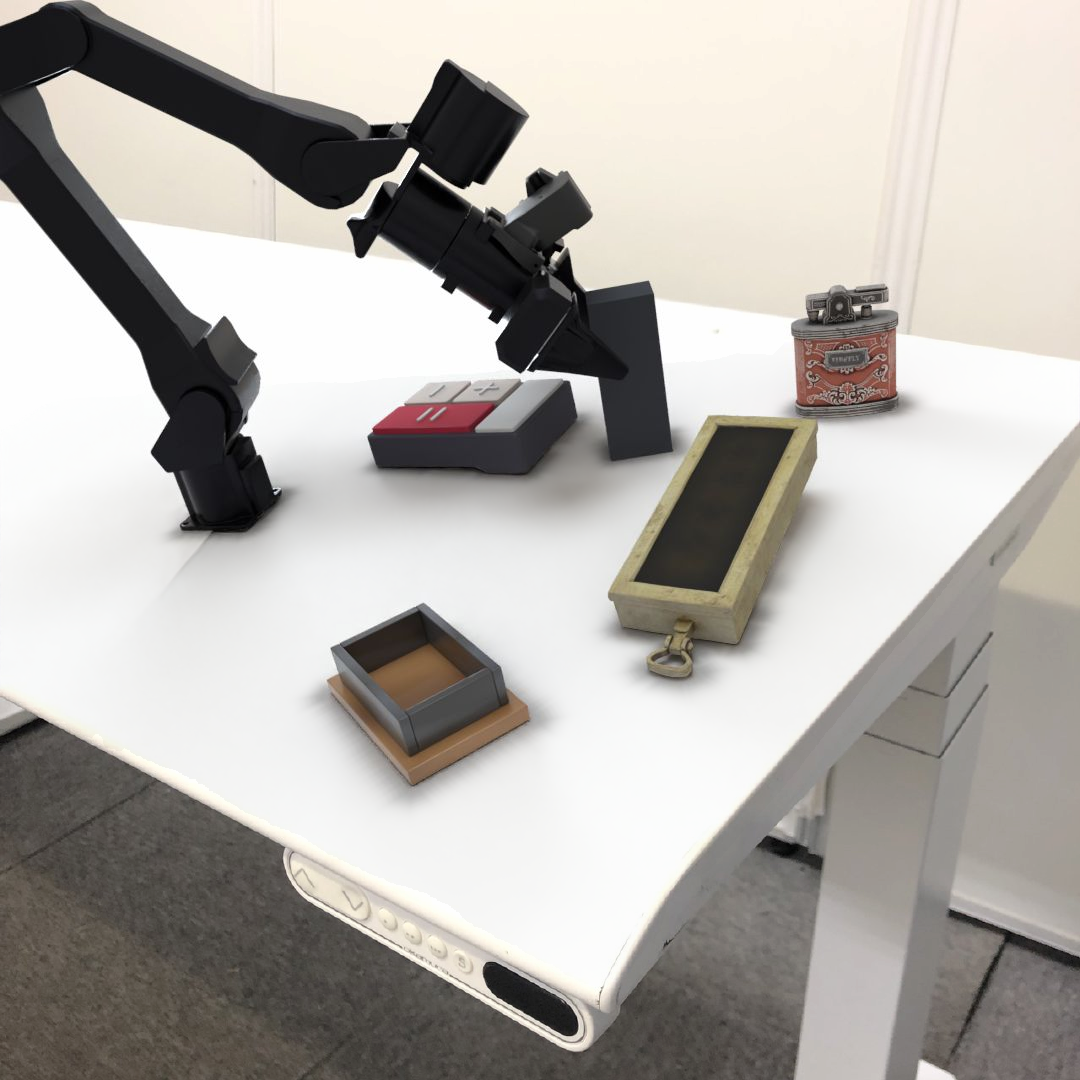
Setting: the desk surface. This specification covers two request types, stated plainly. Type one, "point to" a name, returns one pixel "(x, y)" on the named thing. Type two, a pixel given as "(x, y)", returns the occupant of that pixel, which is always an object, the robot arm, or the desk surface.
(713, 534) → the box
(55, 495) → the desk surface
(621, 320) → the back pad
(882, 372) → the lighter
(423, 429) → the calculator
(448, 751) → the grey tray
